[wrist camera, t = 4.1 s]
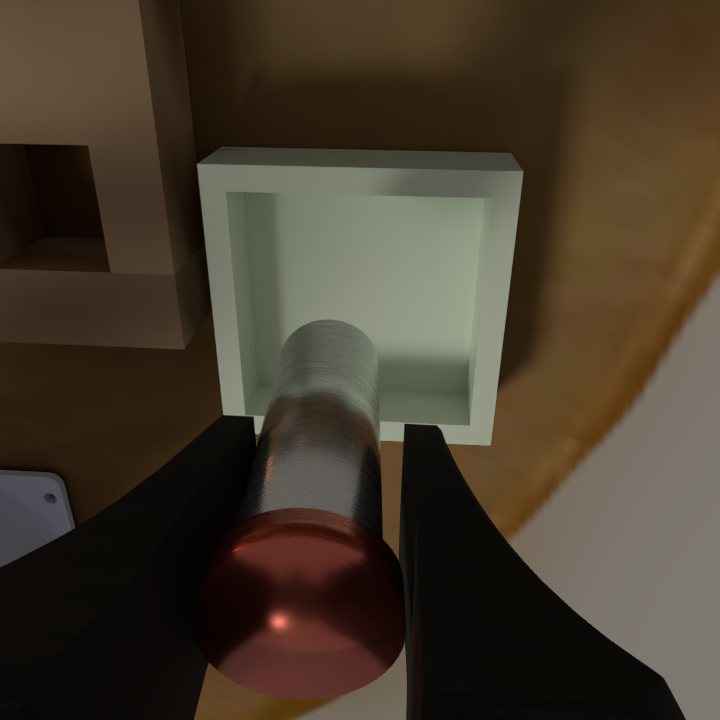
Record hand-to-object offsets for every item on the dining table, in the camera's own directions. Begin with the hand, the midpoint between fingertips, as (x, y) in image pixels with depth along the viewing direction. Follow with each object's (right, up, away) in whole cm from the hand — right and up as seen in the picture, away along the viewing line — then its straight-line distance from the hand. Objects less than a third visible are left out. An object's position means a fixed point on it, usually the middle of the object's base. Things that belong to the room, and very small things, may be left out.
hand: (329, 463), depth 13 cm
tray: (+1, +4, +8) cm, 9 cm away
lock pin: (0, +2, +3) cm, 4 cm away
